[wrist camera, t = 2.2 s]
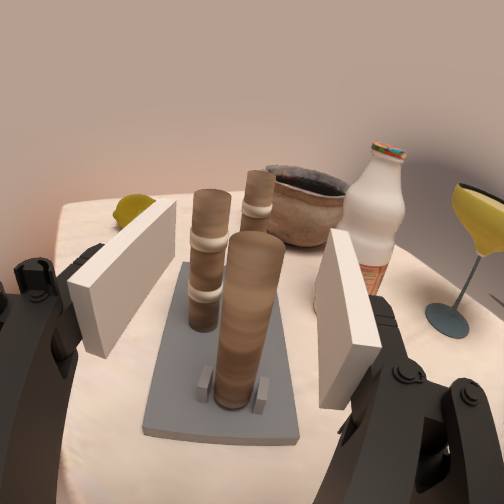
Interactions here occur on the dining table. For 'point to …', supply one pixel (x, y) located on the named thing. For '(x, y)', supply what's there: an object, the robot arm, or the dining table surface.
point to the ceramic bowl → (305, 205)
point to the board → (203, 379)
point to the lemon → (131, 208)
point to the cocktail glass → (486, 242)
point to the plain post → (245, 313)
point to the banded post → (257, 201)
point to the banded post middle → (207, 257)
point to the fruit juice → (375, 213)
